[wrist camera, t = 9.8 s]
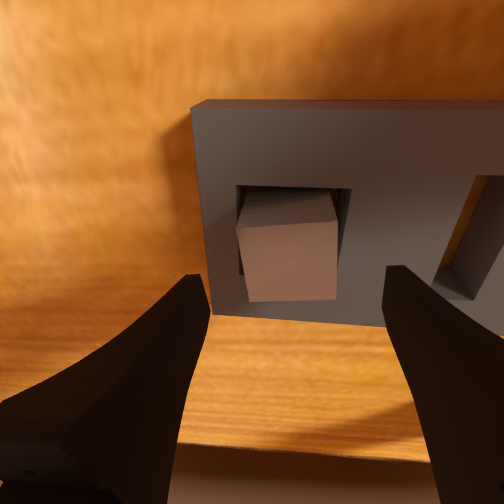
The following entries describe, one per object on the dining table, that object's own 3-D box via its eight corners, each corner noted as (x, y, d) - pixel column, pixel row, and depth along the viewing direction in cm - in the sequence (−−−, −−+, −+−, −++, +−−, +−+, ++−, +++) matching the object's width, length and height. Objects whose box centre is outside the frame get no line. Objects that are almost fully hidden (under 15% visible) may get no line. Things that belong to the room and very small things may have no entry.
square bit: (323, 170, 16) (337, 221, 11) (324, 233, 19) (336, 299, 14) (252, 177, 17) (235, 228, 12) (260, 237, 19) (249, 302, 14)
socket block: (601, 101, 13) (673, 112, 11) (487, 301, 20) (515, 336, 17) (206, 99, 15) (190, 108, 13) (221, 284, 22) (212, 314, 19)
